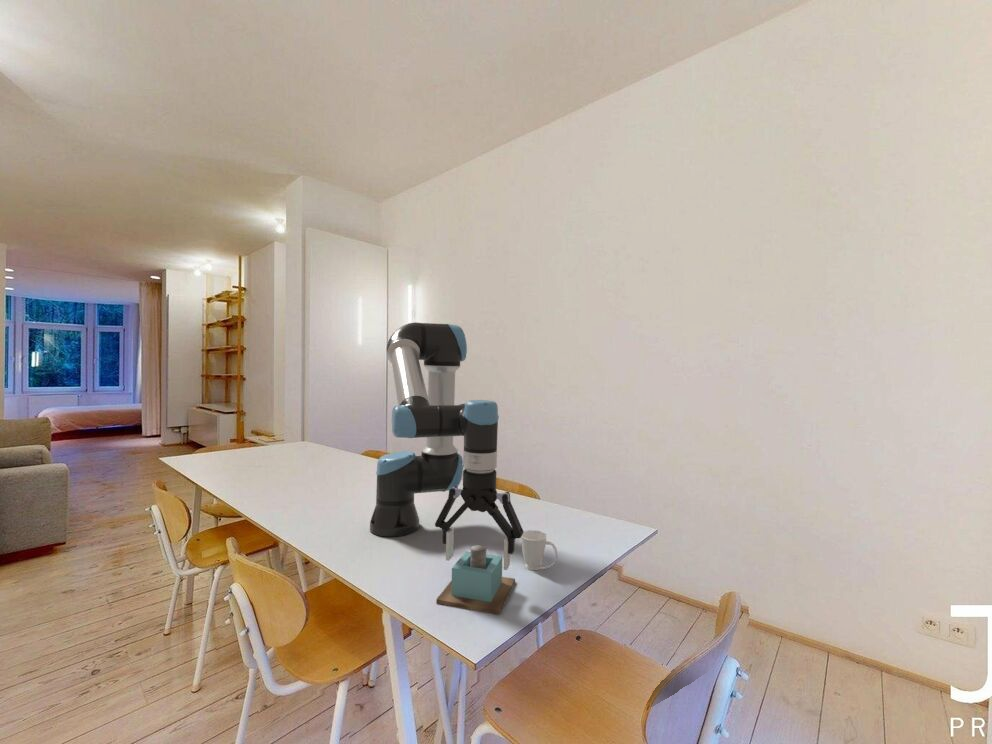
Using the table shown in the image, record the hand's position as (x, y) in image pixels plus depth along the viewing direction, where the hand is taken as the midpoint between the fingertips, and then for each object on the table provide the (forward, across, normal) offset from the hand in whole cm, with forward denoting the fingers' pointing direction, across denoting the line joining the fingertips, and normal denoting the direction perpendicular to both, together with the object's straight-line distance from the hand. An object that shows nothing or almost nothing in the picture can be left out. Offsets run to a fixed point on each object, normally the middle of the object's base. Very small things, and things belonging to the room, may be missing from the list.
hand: (477, 562), depth 96 cm
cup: (+7, +11, +16) cm, 20 cm away
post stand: (+6, 0, 0) cm, 6 cm away
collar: (+6, 0, 0) cm, 6 cm away
